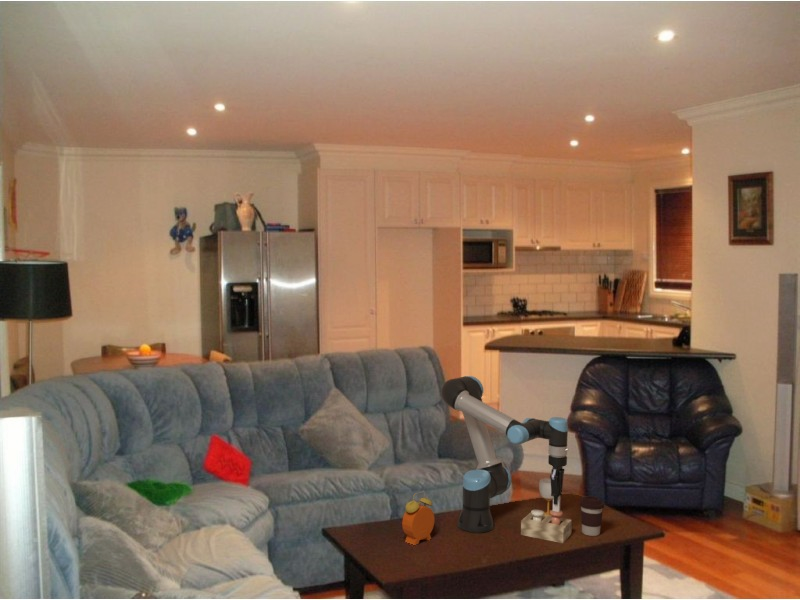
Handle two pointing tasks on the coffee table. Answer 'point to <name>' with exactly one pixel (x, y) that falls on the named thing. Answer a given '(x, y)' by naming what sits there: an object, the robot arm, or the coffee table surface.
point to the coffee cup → (591, 515)
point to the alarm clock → (418, 521)
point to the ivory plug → (537, 514)
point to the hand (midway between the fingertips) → (556, 511)
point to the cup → (546, 492)
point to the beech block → (546, 528)
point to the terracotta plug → (555, 517)
